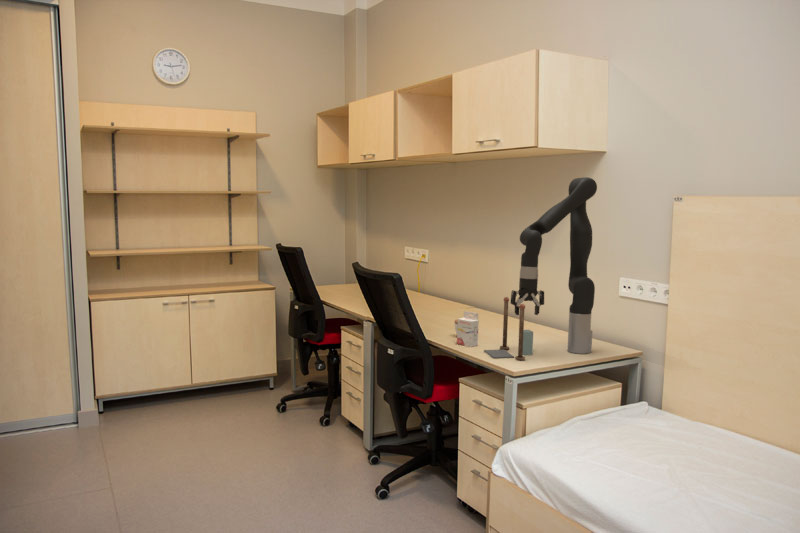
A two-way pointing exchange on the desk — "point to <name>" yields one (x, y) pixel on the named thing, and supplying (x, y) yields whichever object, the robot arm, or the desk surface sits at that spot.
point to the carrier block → (527, 342)
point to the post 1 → (505, 324)
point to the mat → (498, 354)
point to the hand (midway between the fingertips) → (526, 314)
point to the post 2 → (521, 334)
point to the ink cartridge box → (468, 330)
